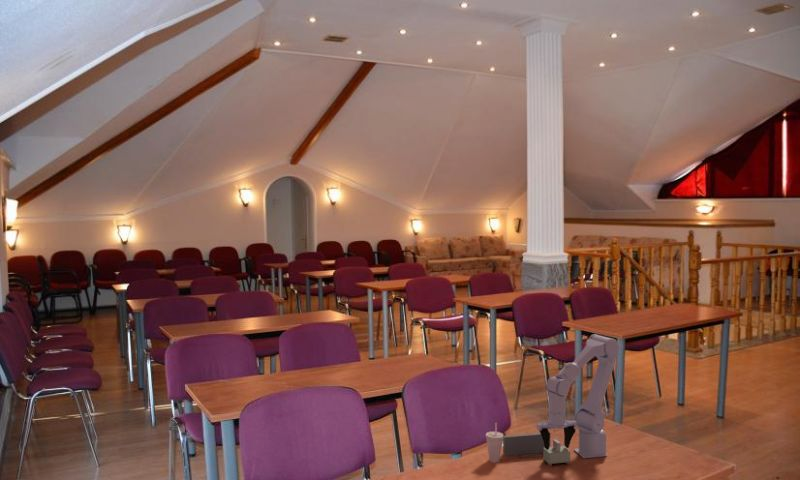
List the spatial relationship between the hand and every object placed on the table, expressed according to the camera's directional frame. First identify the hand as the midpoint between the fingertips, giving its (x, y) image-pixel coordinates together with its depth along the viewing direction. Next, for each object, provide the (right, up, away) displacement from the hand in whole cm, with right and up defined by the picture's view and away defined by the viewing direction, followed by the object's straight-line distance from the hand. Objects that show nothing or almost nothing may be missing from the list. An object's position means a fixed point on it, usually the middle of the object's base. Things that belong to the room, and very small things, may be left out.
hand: (556, 447), depth 245 cm
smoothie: (-22, -6, +3) cm, 23 cm away
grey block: (0, -6, 0) cm, 6 cm away
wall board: (-9, -5, +8) cm, 13 cm away
